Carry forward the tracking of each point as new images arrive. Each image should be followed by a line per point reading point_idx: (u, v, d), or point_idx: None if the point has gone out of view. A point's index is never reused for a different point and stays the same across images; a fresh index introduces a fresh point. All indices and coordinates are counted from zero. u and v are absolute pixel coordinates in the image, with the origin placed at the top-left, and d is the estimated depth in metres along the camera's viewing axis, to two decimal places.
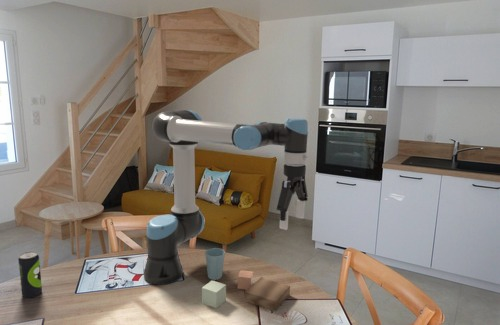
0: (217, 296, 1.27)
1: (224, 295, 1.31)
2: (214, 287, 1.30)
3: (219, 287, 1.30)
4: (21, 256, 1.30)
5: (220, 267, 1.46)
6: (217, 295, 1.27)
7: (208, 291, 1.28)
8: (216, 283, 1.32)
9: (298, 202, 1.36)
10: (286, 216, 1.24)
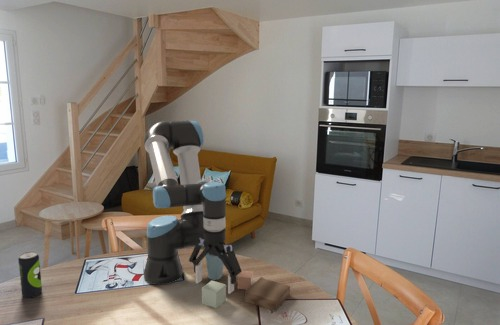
0: (217, 296, 1.27)
1: (224, 295, 1.31)
2: (214, 287, 1.30)
3: (219, 287, 1.30)
4: (21, 256, 1.30)
5: (220, 267, 1.46)
6: (217, 295, 1.27)
7: (208, 291, 1.28)
8: (216, 283, 1.32)
9: None
10: None
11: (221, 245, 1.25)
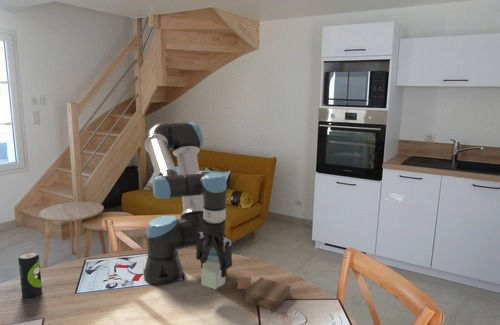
0: (216, 277, 1.26)
1: None
2: (214, 268, 1.29)
3: None
4: (21, 256, 1.30)
5: None
6: (217, 276, 1.27)
7: (207, 272, 1.27)
8: (215, 264, 1.31)
9: None
10: None
11: (221, 237, 1.24)
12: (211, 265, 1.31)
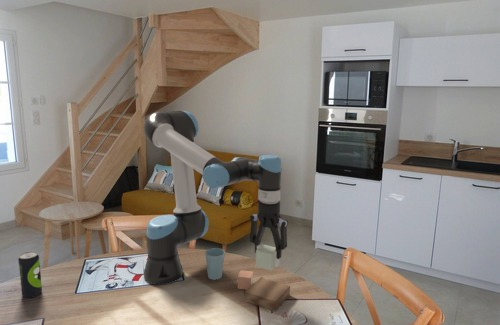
0: (272, 258, 1.27)
1: None
2: (268, 249, 1.30)
3: (273, 250, 1.30)
4: (21, 256, 1.30)
5: (220, 267, 1.46)
6: (272, 257, 1.27)
7: (263, 254, 1.28)
8: (269, 247, 1.32)
9: None
10: None
11: (277, 218, 1.26)
12: (265, 247, 1.32)
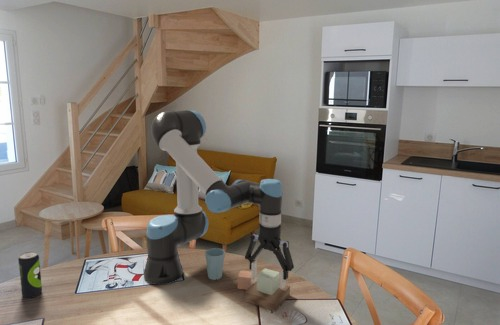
0: (272, 283, 1.29)
1: (278, 282, 1.34)
2: (269, 274, 1.32)
3: (274, 274, 1.32)
4: (21, 256, 1.30)
5: (220, 267, 1.46)
6: (273, 282, 1.30)
7: (264, 279, 1.30)
8: (270, 271, 1.35)
9: None
10: None
11: (277, 241, 1.28)
12: (266, 271, 1.34)
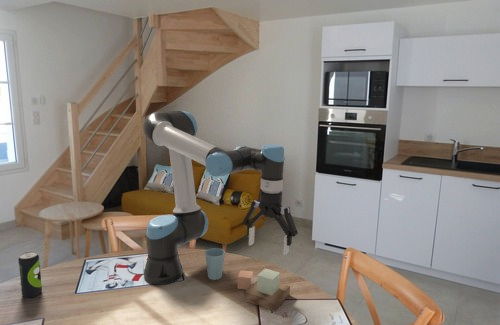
0: (272, 283, 1.29)
1: (278, 283, 1.34)
2: (269, 274, 1.32)
3: (274, 275, 1.32)
4: (21, 256, 1.30)
5: (220, 267, 1.46)
6: (273, 283, 1.30)
7: (264, 279, 1.30)
8: (270, 271, 1.34)
9: None
10: None
11: (278, 207, 1.25)
12: (266, 272, 1.34)
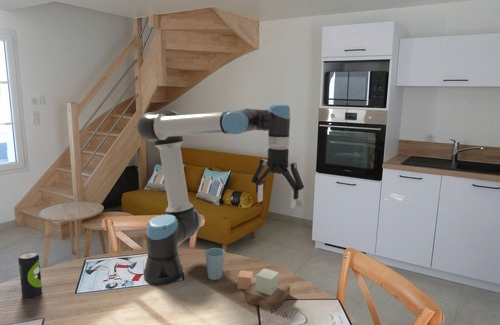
0: (271, 283, 1.29)
1: (277, 282, 1.34)
2: (268, 274, 1.32)
3: (273, 274, 1.32)
4: (21, 256, 1.30)
5: (220, 267, 1.46)
6: (272, 283, 1.30)
7: (263, 279, 1.30)
8: (269, 271, 1.34)
9: None
10: None
11: (285, 163, 1.34)
12: (265, 272, 1.34)
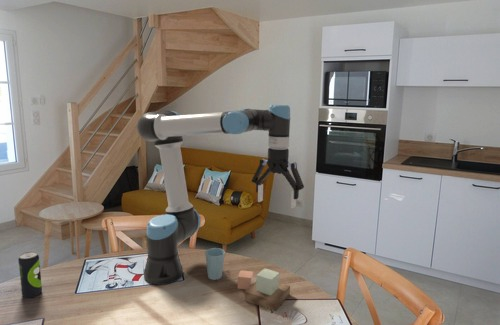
0: (271, 283, 1.29)
1: (277, 283, 1.33)
2: (268, 274, 1.32)
3: (273, 275, 1.32)
4: (21, 256, 1.30)
5: (220, 267, 1.46)
6: (272, 283, 1.29)
7: (263, 279, 1.30)
8: (269, 271, 1.34)
9: None
10: None
11: (285, 163, 1.34)
12: (265, 272, 1.34)
